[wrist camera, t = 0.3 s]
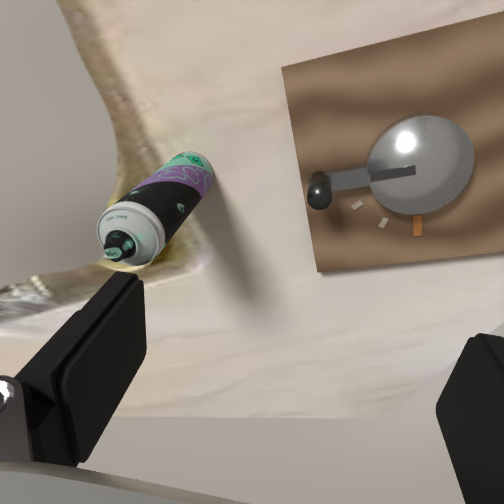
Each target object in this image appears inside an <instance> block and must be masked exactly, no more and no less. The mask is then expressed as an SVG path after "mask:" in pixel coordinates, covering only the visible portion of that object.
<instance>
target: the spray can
mask: <svg viewBox="0 0 504 504" xmlns="http://www.w3.org/2000/svg"><path fill="white" fill-rule="evenodd" d="M212 182H213V170H212V167H211V165H210V163H209V162H208V160H207V159H206V158H205V157H203V156H202V155H200V154H198V153H196V152H188V151H187V152H183V153H180V154H178V155H177V156H176V157H174V158H173V159H172V160H170V161H169V162H168V163H166V164H165V165H164V166H163V167H161V168H160V169H159V170H157V171H156V172H155V173H153V174H152V175H151V176H150V177H148V178H147V179H146V180H144V181H143V182H142V183H140V184H139V185H138V186H136V187H135V188H134V189H133V190H131V191H130V192H129V193H127V194H126V195H125V196H123V197H122V198H121V199H120V200H118V201H117V202H116V203H114V204H113V205H112V206H110V207H109V208H108V209H107V210H106V211H105V212H104V213H103V215H102V216H101V217H100V219H99V221H98V223H97V236H98V240H99V242H100V244H101V246H102V248H103V249H104V251H105V253H106V255H107V256H108V257H109V258H110V259H111V260H112V261H115V262H120V263H122V264H125V265H129V266H141V265H144V264H147V263H149V262H150V261H151V260H152V259H154V258H155V257H156V256H157V255H158V254H159V253H160V252H161V250H162V249H163V248H164V247H165V245H166V244H167V243H168V241H169V240H170V239H171V238H172V236H173V235H174V234H175V232H176V231H177V230H178V228H179V227H180V226H181V225H182V223H183V222H184V221H185V219H186V218H187V217H188V216H189V214H190V213H191V212H192V210H193V209H194V208H195V207H196V205H197V204H198V203H199V201H200V200H201V199H202V197H203V196H204V195H205V194H206V192H207V191H208V190H209V188H210V187H211V185H212Z"/></svg>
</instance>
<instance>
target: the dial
mask: <svg viewBox="0 0 504 504" xmlns="http://www.w3.org/2000/svg"><path fill="white" fill-rule="evenodd" d="M473 167H474V149H473V145H472V143H471V140H470V138H469V137H468V135H467V134H466V132H465V131H464V130H463V129H462V128H461V127H460V126H459V125H457V124H455V123H454V122H452V121H450V120H449V119H447V118H444V117H442V116H439V115H435V114H416V115H411V116H407V117H405V118H402V119H400V120H398V121H396V122H394V123H393V124H391V125H390V126H388V127H387V128H386V129H385V130H384V131H383V132H382V133H381V134H380V135H379V136H378V137H377V139H376V140H375V141H374V143H373V145H372V147H371V149H370V151H369V154H368V157H367V162H366V164H365V165H359V166H353V167H348V168H342V169H336V170H331V171H325V172H324V171H316V172H314V173H312V174H309V181H308V193H307V202H308V204H309V206H310V207H311V208H313V209H315V210H323V209H326V208H327V207H328V206H329V205H330V204H331V201H332V192H334V191H340V190H346V189H352V188H359V187H365V186H370V188H371V191H372V193H373V194H374V196H375V197H376V199H377V200H378V201H379V202H380V203H381V204H382V205H384V206H385V207H387V208H388V209H390V210H392V211H395V212H398V213H401V214H409V215H416V214H424V213H428V212H432V211H435V210H437V209H439V208H441V207H443V206H445V205H447V204H448V203H449V202H451V201H452V200H453V199H454V198H456V197H457V196H458V195H459V194H460V192H461V191H462V190H463V189H464V187H465V186H466V184H467V183H468V181H469V179H470V176H471V174H472V171H473Z"/></svg>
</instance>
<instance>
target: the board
mask: <svg viewBox="0 0 504 504" xmlns="http://www.w3.org/2000/svg"><path fill="white" fill-rule="evenodd" d="M281 68H282V74H283V80H284V85H285V91H286V97H287V102H288V108H289V114H290V119H291V125H292V131H293V136H294V142H295V148H296V153H297V159H298V165H299V170H300V176H301V182H302V187H303V193H304V199H305V204H306V210H307V216H308V221H309V227H310V233H311V238H312V244H313V250H314V255H315V261H316V267H317V272H327V271H336V270H345V269H354V268H363V267H371V266H380V265H389V264H398V263H407V262H416V261H425V260H434V259H443V258H451V257H460V256H469V255H478V254H487V253H496V252H504V11H502V12H498V13H494V14H490V15H486V16H482V17H478V18H474V19H470V20H466V21H462V22H458V23H454V24H450V25H446V26H442V27H438V28H435V29H431V30H427V31H423V32H419V33H415V34H411V35H407V36H403V37H399V38H395V39H391V40H387V41H383V42H379V43H375V44H371V45H367V46H363V47H359V48H355V49H351V50H347V51H343V52H339V53H335V54H332V55H328V56H324V57H320V58H316V59H312V60H308V61H304V62H300V63H296V64H292V65H288V66H284V67H281ZM416 114H435V115H439V116H442V117H444V118H447V119H449V120H450V121H452V122H454V123H455V124H457V125H459V126H460V127H461V128H462V129H463V130H464V131H465V132H466V134H467V135H468V137H469V138H470V140H471V143H472V145H473V149H474V167H473V171H472V174H471V176H470V179H469V181H468V183H467V184H466V186H465V187H464V189H463V190H462V191H461V192H460V194H459V195H458V196H457V197H456V198H454V199H453V200H452V201H451V202H449V203H448V204H447V205H445V206H443V207H441V208H439V209H437V210H435V211H432V212H428V213H424V214H416V215H409V214H401V213H398V212H395V211H392V210H390V209H388V208H387V207H385V206H384V205H382V204H381V203H380V202H379V201H378V200H377V199H376V197H375V196H374V194H373V193H372V191H371V188H370V186H365V187H359V188H352V189H346V190H340V191H334V192H332V201H331V204H330V205H329V206H328V207H327V208H326V209H323V210H315V209H313V208H311V207H310V206H309V204H308V202H307V193H308V181H309V174H312V173H314V172H316V171H324V172H325V171H331V170H336V169H342V168H348V167H353V166H359V165H365V164H366V162H367V157H368V154H369V151H370V149H371V147H372V145H373V143H374V141H375V140H376V139H377V137H378V136H379V135H380V134H381V133H382V132H383V131H384V130H385V129H386V128H387V127H388V126H390V125H391V124H393V123H394V122H396V121H398V120H400V119H402V118H405V117H407V116H411V115H416Z"/></svg>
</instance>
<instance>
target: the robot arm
mask: <svg viewBox="0 0 504 504" xmlns="http://www.w3.org/2000/svg"><path fill="white" fill-rule="evenodd" d="M146 350H147V345H146V324H145V303H144V284H143V281H142V280H139V279H138V276H137V275H136V274H132V273H126V272H120V271H117V272H115V273H114V274H113V275H112V276H111V277H110V279H109V280H108V281H107V282H106V283H105V284H104V285H103V286H102V287H101V288H100V289H99V290H98V292H97V293H96V294H95V295H94V296H93V297H92V298H91V299H90V300H89V301H88V302H87V303H86V305H85V306H84V307H83V308H82V309H81V310H78V311H77V312H75V313H74V314H73V315H72V316H71V317H70V318H69V319H68V320H67V321H66V323H65V324H64V325H63V326H62V327H61V328H60V329H59V330H58V331H57V332H56V333H55V334H54V335H53V336H52V337H51V339H50V340H49V341H48V342H47V343H46V344H45V345H44V346H43V347H42V348H41V349H40V350H39V351H38V352H37V354H36V355H35V356H34V357H33V358H32V359H31V360H30V361H29V362H28V363H27V364H26V365H25V366H24V367H23V368H22V370H21V371H20V372H19V373H18V374H17V375H16V376H15V377H14V378H13V377H9V376H6V375H0V504H249V503H244V502H239V501H235V500H230V499H226V498H221V497H216V496H211V495H207V494H202V493H197V492H193V491H188V490H183V489H179V488H174V487H169V486H165V485H160V484H155V483H151V482H146V481H141V480H137V479H132V478H127V477H121V476H116V475H111V474H106V473H101V472H96V471H91V470H85V469H80V468H76V467H77V465H78V463H79V462H81V463H84V462H85V461H86V460H87V459H88V458H89V456H90V454H91V452H92V450H93V449H94V447H95V445H96V444H97V442H98V440H99V438H100V436H101V435H102V433H103V431H104V429H105V428H106V426H107V424H108V422H109V421H110V419H111V417H112V415H113V413H114V412H115V410H116V408H117V406H118V405H119V403H120V401H121V399H122V398H123V396H124V394H125V392H126V390H127V389H128V387H129V385H130V383H131V382H132V380H133V378H134V376H135V375H136V373H137V371H138V369H139V367H140V366H141V364H142V362H143V360H144V358H145V355H146ZM436 415H437V419H438V422H439V425H440V428H441V431H442V434H443V437H444V440H445V443H446V446H447V449H448V452H449V455H450V458H451V461H452V464H453V467H454V470H455V473H456V476H457V479H458V482H459V485H460V488H461V491H462V494H463V497H464V500H465V503H466V504H504V338H503V337H501V336H495V335H489V334H483V333H478V334H477V335H476V336H475V337H470V338H469V339H468V341H467V343H466V345H465V347H464V349H463V351H462V353H461V355H460V357H459V359H458V361H457V363H456V365H455V367H454V369H453V371H452V373H451V375H450V377H449V379H448V381H447V383H446V385H445V387H444V389H443V391H442V394H441V395H440V397H439V399H438V402H437V404H436Z"/></svg>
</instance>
